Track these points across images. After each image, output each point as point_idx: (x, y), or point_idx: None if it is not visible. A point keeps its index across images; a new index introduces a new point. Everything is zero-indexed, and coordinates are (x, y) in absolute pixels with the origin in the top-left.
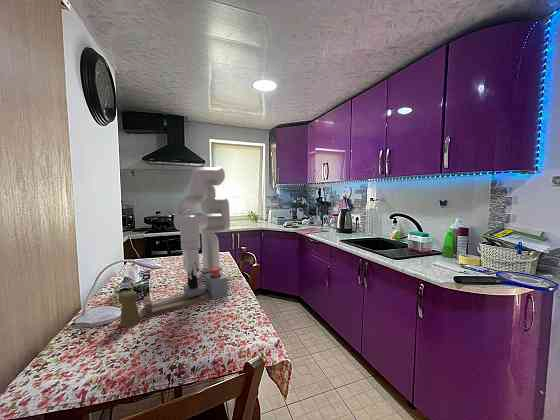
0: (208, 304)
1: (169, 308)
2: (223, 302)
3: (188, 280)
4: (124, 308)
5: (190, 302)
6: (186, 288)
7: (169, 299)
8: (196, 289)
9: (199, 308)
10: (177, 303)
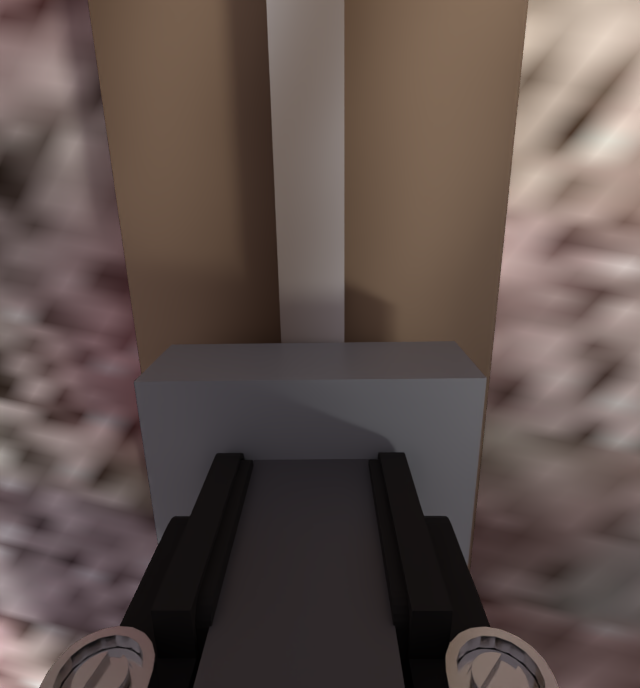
0: (78, 500)
1: (100, 35)
2: (52, 621)
3: (382, 547)
4: None
5: (140, 345)
6: (309, 396)
7: (287, 49)
8: (156, 528)
9: (23, 400)
10: (177, 175)
